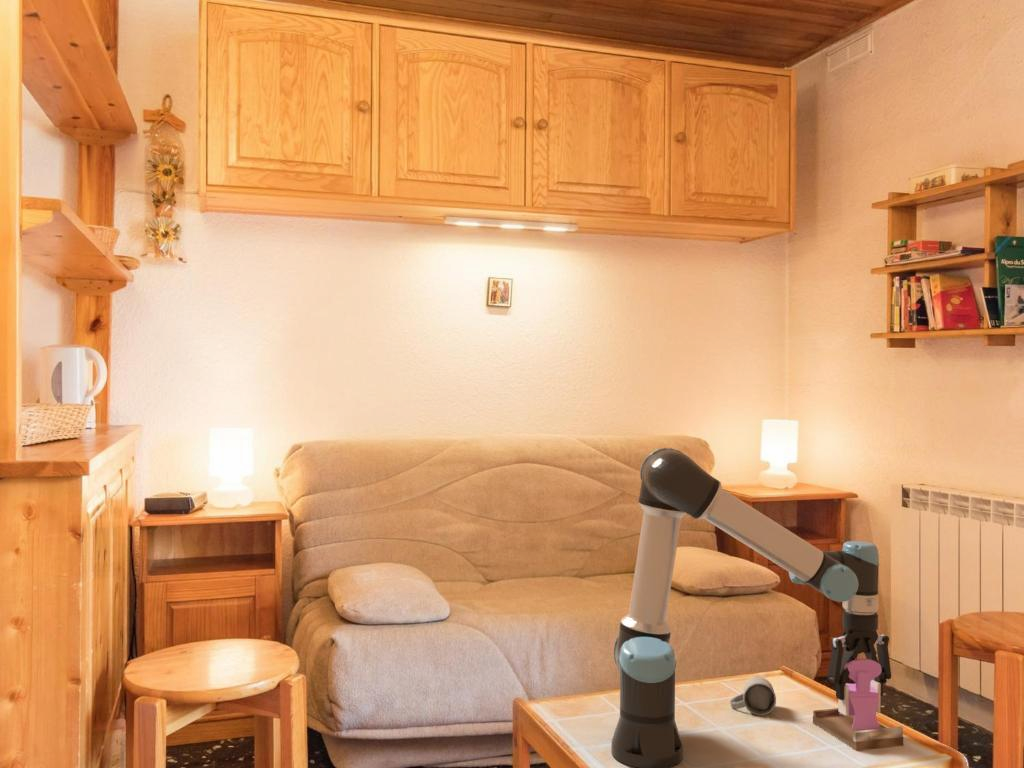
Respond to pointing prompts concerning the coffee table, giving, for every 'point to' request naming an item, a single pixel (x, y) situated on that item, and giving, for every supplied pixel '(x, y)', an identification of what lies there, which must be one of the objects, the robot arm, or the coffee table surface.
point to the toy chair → (863, 693)
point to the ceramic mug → (756, 697)
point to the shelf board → (857, 731)
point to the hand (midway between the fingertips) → (859, 711)
